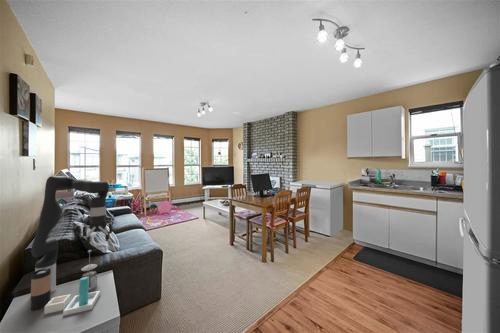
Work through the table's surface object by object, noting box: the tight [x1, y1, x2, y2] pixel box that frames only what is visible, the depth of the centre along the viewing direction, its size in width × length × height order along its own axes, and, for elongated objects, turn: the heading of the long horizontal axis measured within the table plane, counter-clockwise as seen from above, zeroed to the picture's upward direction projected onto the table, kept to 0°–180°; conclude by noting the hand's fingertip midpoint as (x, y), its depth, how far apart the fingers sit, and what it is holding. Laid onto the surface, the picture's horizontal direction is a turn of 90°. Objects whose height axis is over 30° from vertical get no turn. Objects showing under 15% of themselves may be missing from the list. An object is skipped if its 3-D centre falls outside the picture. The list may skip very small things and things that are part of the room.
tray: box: [62, 290, 101, 317], centre depth 109 cm, size 12×14×4 cm
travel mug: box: [30, 268, 51, 311], centre depth 109 cm, size 8×8×20 cm
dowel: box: [78, 276, 89, 306], centre depth 110 cm, size 4×4×14 cm
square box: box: [44, 293, 72, 315], centre depth 107 cm, size 8×8×5 cm
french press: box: [80, 249, 98, 291], centre depth 126 cm, size 10×12×25 cm
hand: (98, 241), depth 115 cm, fingers open, 8 cm apart
